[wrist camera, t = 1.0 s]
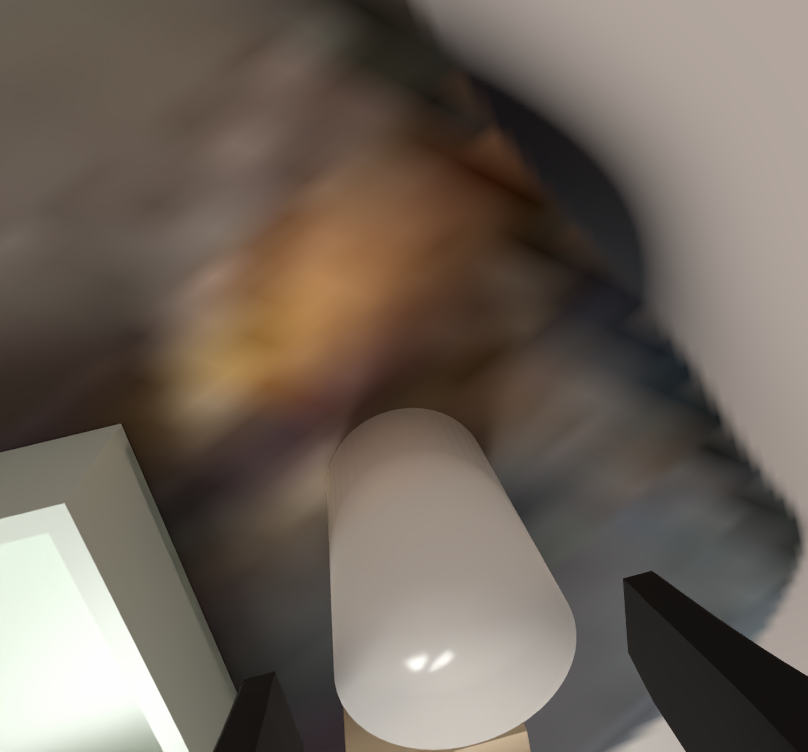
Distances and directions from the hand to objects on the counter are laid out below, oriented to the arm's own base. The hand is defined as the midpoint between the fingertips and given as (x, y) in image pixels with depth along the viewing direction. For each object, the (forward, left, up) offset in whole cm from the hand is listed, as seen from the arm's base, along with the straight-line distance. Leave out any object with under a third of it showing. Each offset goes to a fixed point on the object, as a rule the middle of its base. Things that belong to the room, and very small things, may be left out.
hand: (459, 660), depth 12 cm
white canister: (0, 0, -7) cm, 7 cm away
